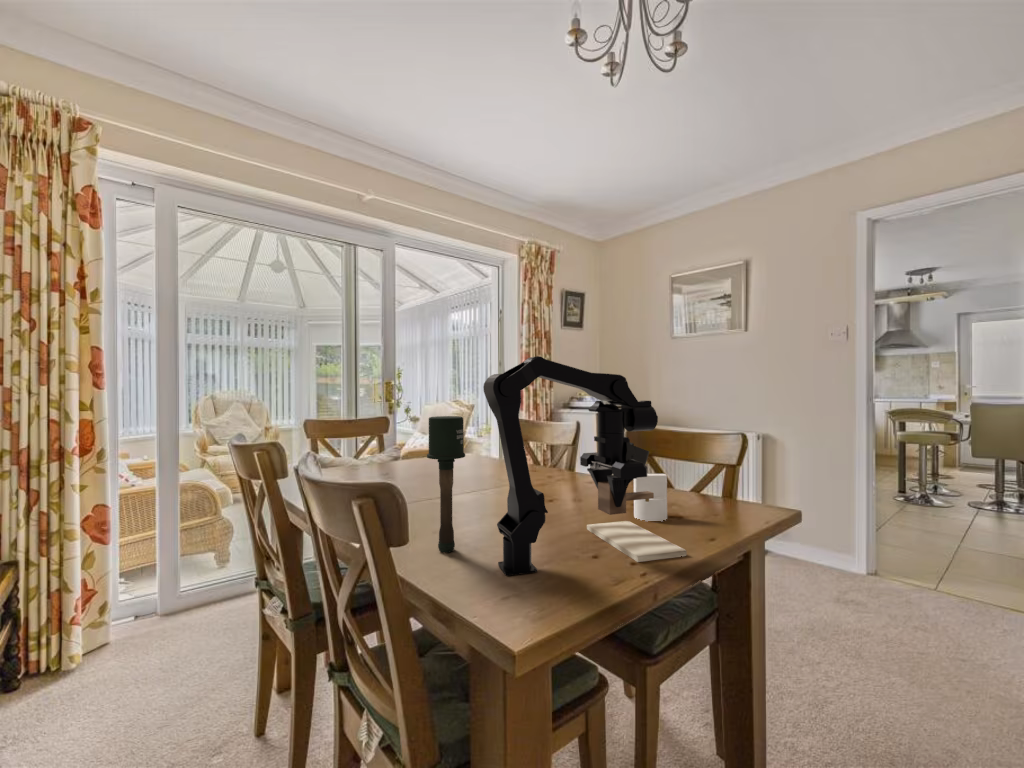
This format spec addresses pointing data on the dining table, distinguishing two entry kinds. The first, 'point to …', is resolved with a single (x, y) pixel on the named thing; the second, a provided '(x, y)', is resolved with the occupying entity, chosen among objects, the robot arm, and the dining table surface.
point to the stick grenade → (446, 468)
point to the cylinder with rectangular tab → (656, 505)
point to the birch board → (636, 541)
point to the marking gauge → (608, 503)
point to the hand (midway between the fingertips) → (611, 503)
